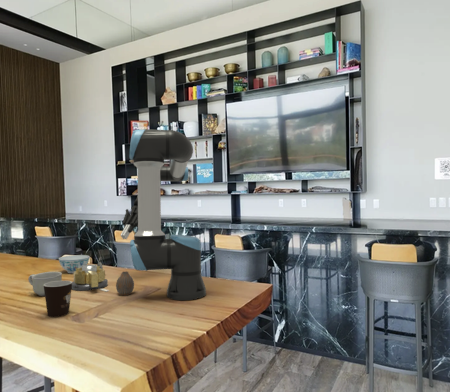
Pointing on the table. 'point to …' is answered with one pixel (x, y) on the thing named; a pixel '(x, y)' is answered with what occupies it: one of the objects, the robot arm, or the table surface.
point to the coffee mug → (58, 297)
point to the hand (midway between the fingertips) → (123, 237)
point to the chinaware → (73, 262)
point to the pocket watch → (100, 263)
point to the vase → (125, 284)
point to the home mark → (104, 290)
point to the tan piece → (89, 276)
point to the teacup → (43, 281)
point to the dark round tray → (86, 286)
